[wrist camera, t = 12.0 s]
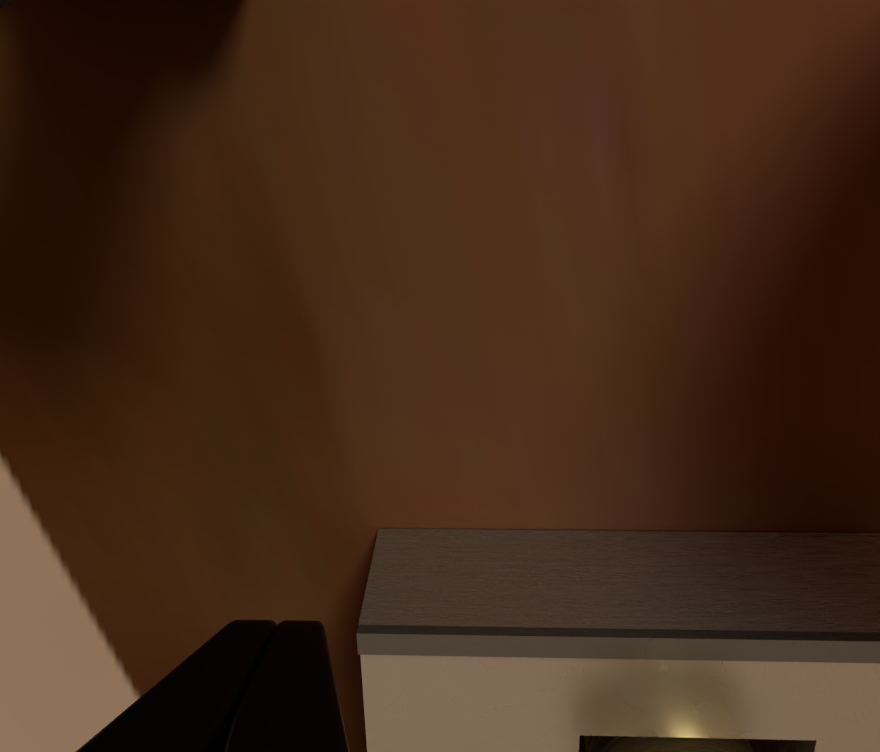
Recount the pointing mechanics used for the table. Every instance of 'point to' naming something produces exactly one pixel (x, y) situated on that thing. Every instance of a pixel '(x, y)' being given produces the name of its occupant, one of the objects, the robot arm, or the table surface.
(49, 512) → the table surface
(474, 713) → the jig
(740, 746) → the door knob
